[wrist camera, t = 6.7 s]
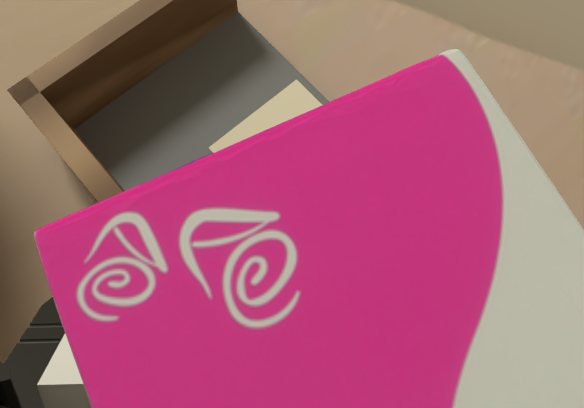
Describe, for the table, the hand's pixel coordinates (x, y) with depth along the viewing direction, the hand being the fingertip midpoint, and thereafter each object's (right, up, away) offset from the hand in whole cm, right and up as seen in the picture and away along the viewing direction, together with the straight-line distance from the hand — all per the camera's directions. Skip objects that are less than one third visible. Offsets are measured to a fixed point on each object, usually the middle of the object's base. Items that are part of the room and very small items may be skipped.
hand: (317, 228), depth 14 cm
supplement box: (0, -4, +3) cm, 5 cm away
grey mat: (-5, +4, +17) cm, 18 cm away
